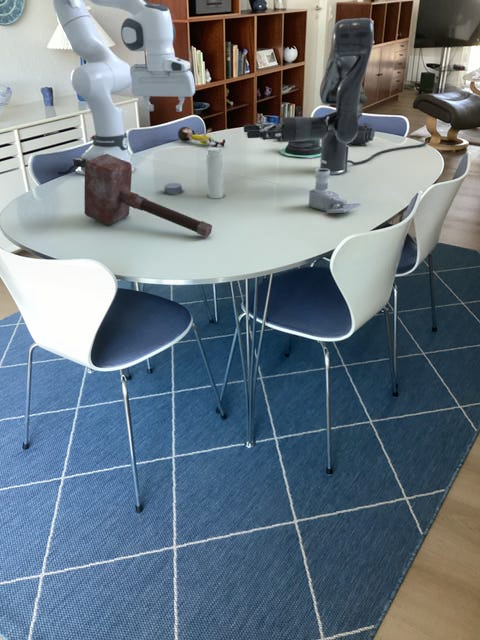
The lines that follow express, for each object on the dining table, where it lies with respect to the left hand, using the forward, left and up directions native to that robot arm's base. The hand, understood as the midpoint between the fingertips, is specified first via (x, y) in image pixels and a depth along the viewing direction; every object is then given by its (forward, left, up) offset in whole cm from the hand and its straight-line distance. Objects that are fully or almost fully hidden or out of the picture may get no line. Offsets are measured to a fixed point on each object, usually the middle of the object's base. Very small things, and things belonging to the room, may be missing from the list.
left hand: (165, 111), depth 178 cm
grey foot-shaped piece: (+56, -4, -27) cm, 62 cm away
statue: (+45, +112, -27) cm, 123 cm away
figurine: (-18, +68, -27) cm, 75 cm away
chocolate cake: (+31, +65, -27) cm, 77 cm away
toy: (+50, +86, -27) cm, 103 cm away
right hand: (+26, +4, -6) cm, 27 cm away
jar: (+16, 0, -27) cm, 31 cm away
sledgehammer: (+8, -33, -27) cm, 43 cm away
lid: (+1, 0, -25) cm, 25 cm away
